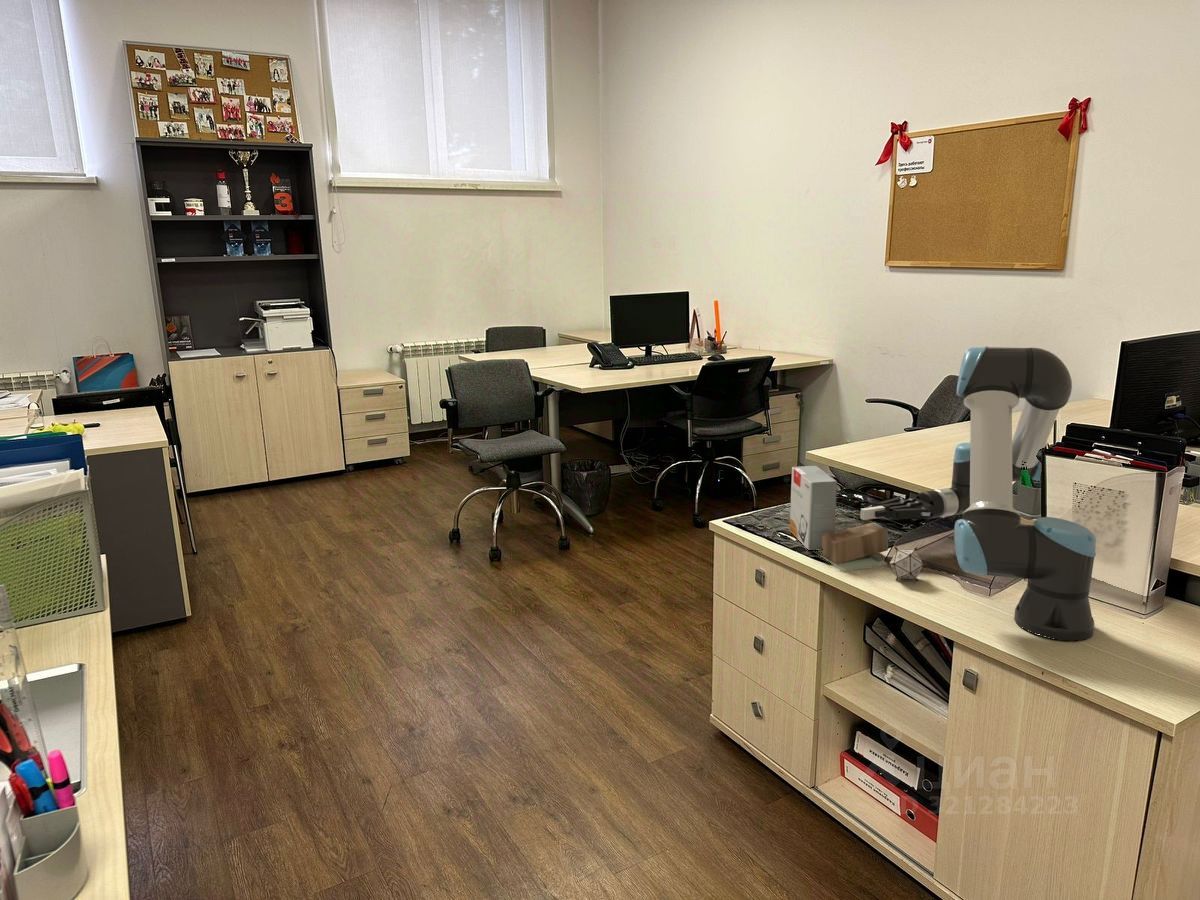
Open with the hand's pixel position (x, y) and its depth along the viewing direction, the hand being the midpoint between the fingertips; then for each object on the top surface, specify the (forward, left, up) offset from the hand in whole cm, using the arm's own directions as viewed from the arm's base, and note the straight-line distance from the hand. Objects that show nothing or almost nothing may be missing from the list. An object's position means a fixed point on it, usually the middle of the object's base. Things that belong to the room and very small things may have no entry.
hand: (862, 514), depth 212 cm
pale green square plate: (0, +3, -12) cm, 12 cm away
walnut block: (0, -6, -7) cm, 9 cm away
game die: (-16, -2, -12) cm, 20 cm away
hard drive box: (+15, +5, -12) cm, 20 cm away
